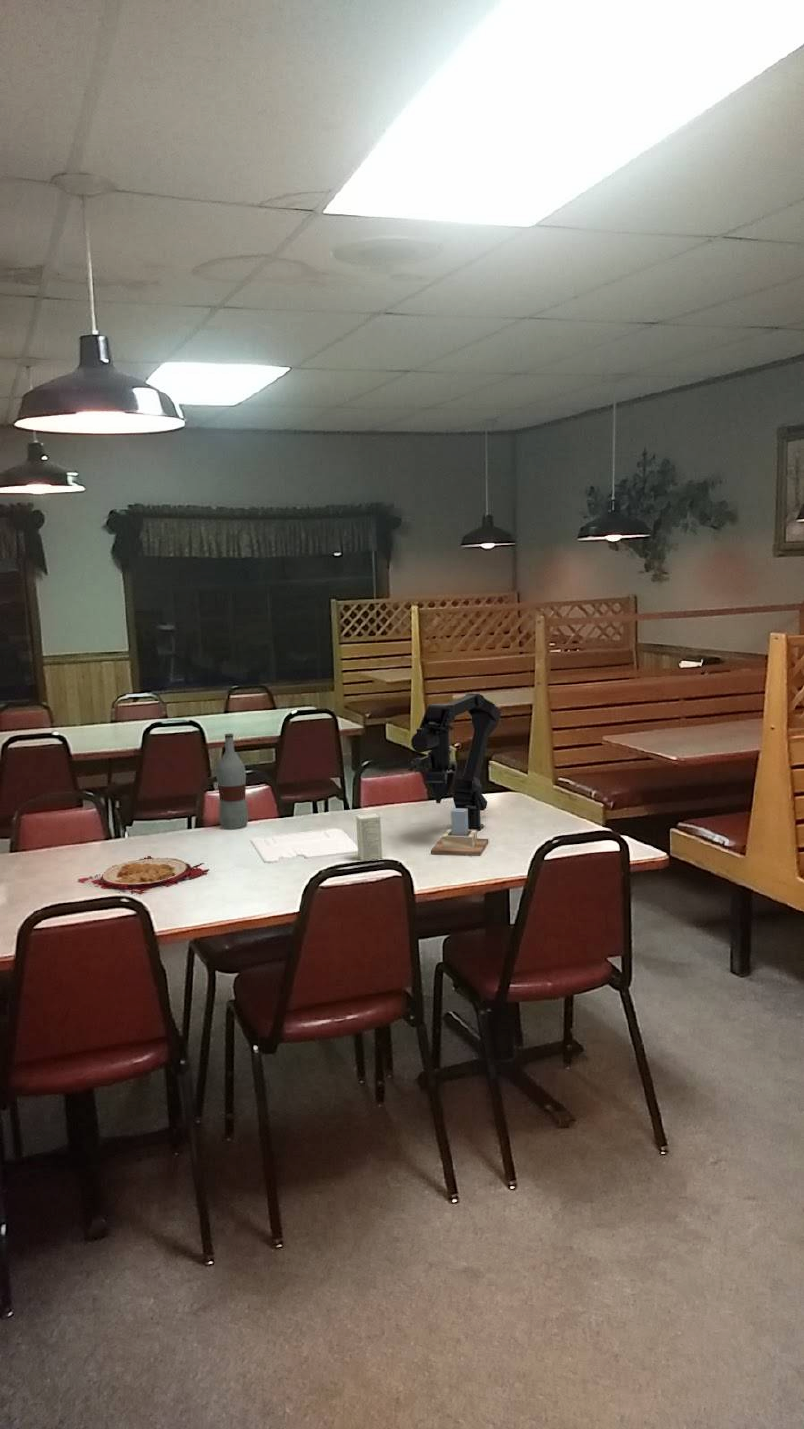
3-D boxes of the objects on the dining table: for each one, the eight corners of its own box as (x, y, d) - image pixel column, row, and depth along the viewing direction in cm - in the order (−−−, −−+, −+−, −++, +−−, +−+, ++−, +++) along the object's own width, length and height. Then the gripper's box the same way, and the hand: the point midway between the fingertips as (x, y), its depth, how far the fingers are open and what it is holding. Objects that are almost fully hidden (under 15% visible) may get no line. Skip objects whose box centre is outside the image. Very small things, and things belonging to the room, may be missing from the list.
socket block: (441, 841, 283) (441, 826, 282) (488, 842, 279) (488, 827, 278) (430, 854, 269) (430, 838, 269) (480, 856, 266) (479, 840, 265)
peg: (454, 842, 276) (454, 808, 275) (468, 842, 275) (467, 808, 274) (452, 845, 273) (451, 811, 271) (465, 846, 272) (465, 811, 270)
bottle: (252, 822, 313) (247, 731, 309) (244, 830, 304) (238, 736, 300) (224, 822, 314) (219, 732, 310) (215, 830, 305) (209, 736, 301)
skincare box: (379, 855, 270) (377, 812, 269) (382, 859, 266) (381, 816, 264) (357, 857, 269) (355, 814, 267) (360, 861, 265) (358, 818, 263)
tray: (363, 854, 274) (363, 849, 274) (265, 866, 265) (265, 860, 265) (339, 831, 300) (339, 826, 300) (249, 841, 292) (249, 836, 292)
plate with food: (150, 862, 274) (149, 850, 274) (210, 874, 258) (209, 861, 258) (77, 885, 255) (75, 873, 255) (136, 899, 240) (135, 886, 239)
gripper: (420, 741, 292) (422, 792, 294) (405, 752, 274) (407, 806, 276) (456, 742, 289) (458, 793, 291) (443, 753, 271) (445, 807, 273)
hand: (441, 799), depth 283 cm, fingers open, 9 cm apart
